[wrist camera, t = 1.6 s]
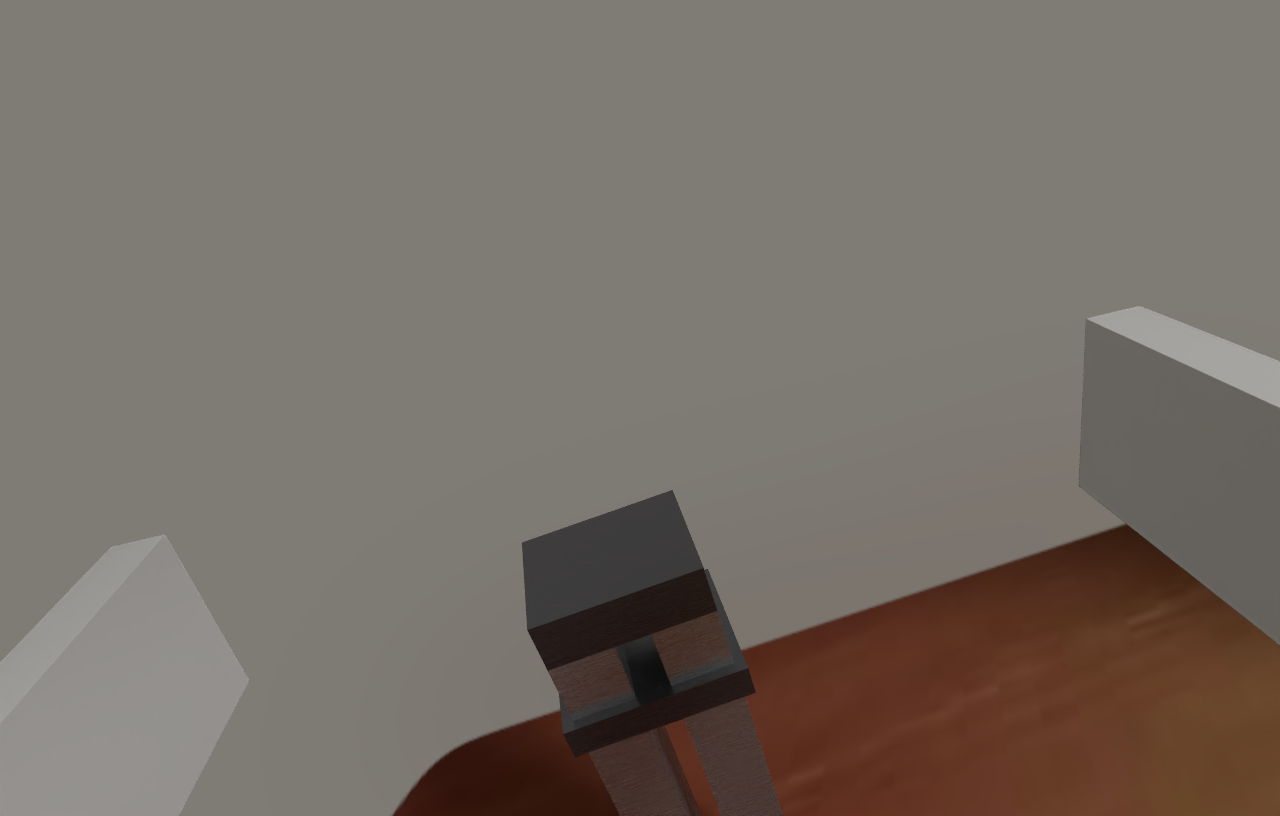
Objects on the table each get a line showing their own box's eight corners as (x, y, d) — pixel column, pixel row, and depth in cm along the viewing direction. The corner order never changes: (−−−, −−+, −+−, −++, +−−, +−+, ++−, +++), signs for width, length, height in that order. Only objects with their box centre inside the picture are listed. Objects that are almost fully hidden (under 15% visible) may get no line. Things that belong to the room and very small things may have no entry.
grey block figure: (795, 844, 31) (677, 475, 22) (842, 970, 27) (721, 579, 18) (678, 886, 31) (511, 533, 22) (707, 1020, 27) (516, 651, 18)
